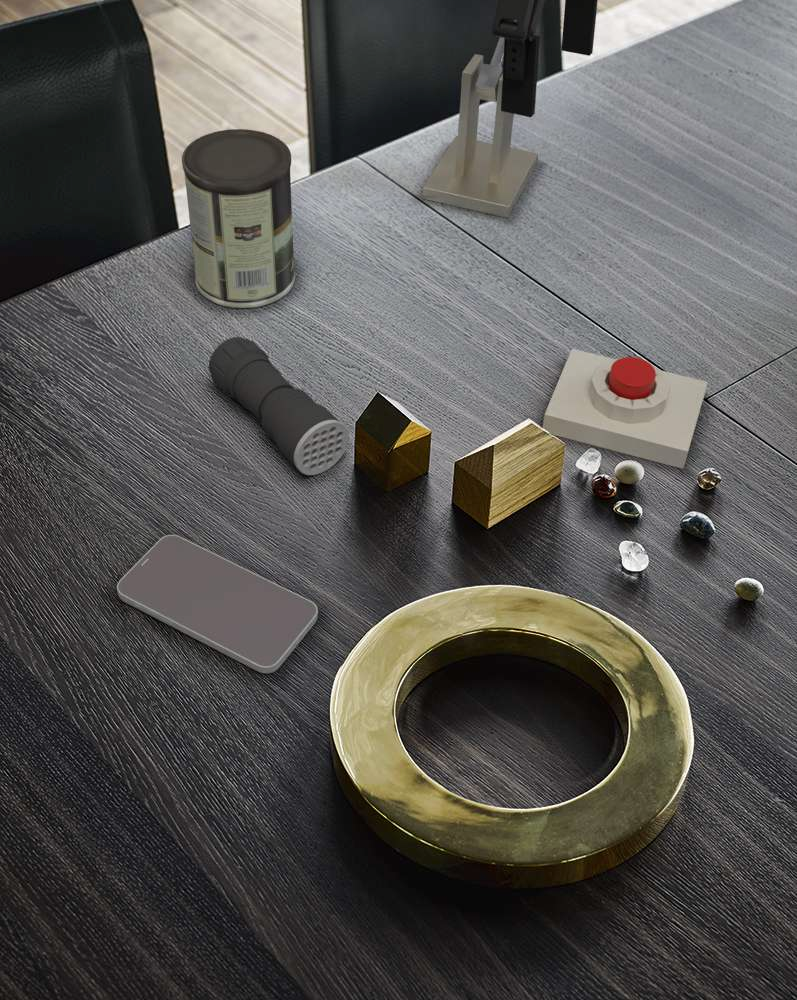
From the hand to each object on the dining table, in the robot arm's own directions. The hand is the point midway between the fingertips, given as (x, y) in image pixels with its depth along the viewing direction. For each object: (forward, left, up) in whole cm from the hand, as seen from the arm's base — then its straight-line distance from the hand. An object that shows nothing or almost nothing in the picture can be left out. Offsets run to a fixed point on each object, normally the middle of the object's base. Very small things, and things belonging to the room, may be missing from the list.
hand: (548, 81), depth 108 cm
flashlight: (+16, +24, -25) cm, 38 cm away
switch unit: (+11, -22, -25) cm, 35 cm away
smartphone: (+12, +45, -25) cm, 53 cm away
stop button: (-13, +11, -21) cm, 27 cm away
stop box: (-13, +11, -25) cm, 30 cm away
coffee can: (+28, +5, -25) cm, 38 cm away
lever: (+11, -27, -12) cm, 32 cm away
